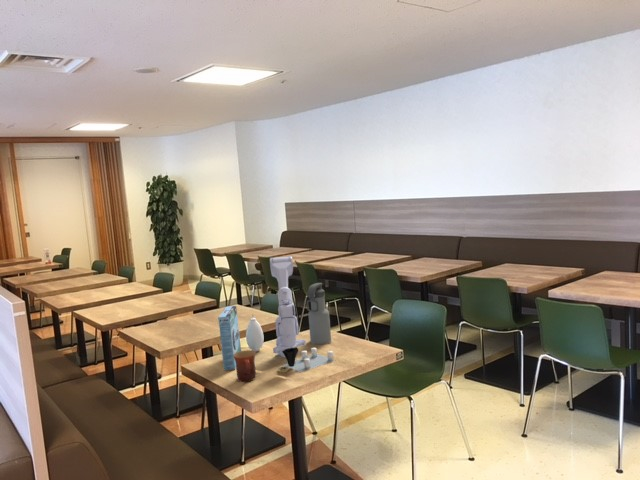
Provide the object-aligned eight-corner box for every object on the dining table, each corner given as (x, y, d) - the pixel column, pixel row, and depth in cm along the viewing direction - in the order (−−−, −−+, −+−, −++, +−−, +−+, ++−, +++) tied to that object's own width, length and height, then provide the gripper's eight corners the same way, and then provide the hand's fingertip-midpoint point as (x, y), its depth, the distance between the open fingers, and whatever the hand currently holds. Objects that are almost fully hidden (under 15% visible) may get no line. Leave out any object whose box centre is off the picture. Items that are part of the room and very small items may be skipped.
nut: (276, 373, 208) (275, 368, 208) (284, 370, 211) (284, 365, 211) (282, 375, 205) (281, 370, 205) (290, 373, 207) (290, 368, 207)
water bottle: (323, 347, 236) (318, 287, 233) (306, 344, 242) (301, 286, 239) (335, 340, 245) (330, 282, 242) (318, 338, 250) (313, 281, 247)
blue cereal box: (235, 370, 215) (229, 316, 213) (222, 370, 215) (217, 317, 213) (241, 354, 235) (237, 305, 232) (230, 355, 235) (225, 306, 232)
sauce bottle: (244, 351, 239) (240, 313, 237) (258, 347, 244) (254, 309, 242) (253, 354, 233) (250, 315, 231) (267, 350, 238) (264, 312, 236)
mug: (234, 377, 207) (231, 352, 206) (256, 373, 209) (253, 349, 208) (238, 387, 195) (235, 361, 194) (261, 383, 198) (258, 357, 196)
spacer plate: (282, 366, 215) (281, 356, 214) (317, 355, 225) (316, 345, 225) (300, 374, 204) (299, 363, 204) (336, 362, 215) (335, 352, 215)
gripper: (278, 339, 201) (281, 373, 202) (308, 331, 209) (311, 363, 210) (269, 336, 206) (272, 368, 208) (299, 328, 215) (301, 359, 216)
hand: (291, 365), depth 210 cm, fingers closed
